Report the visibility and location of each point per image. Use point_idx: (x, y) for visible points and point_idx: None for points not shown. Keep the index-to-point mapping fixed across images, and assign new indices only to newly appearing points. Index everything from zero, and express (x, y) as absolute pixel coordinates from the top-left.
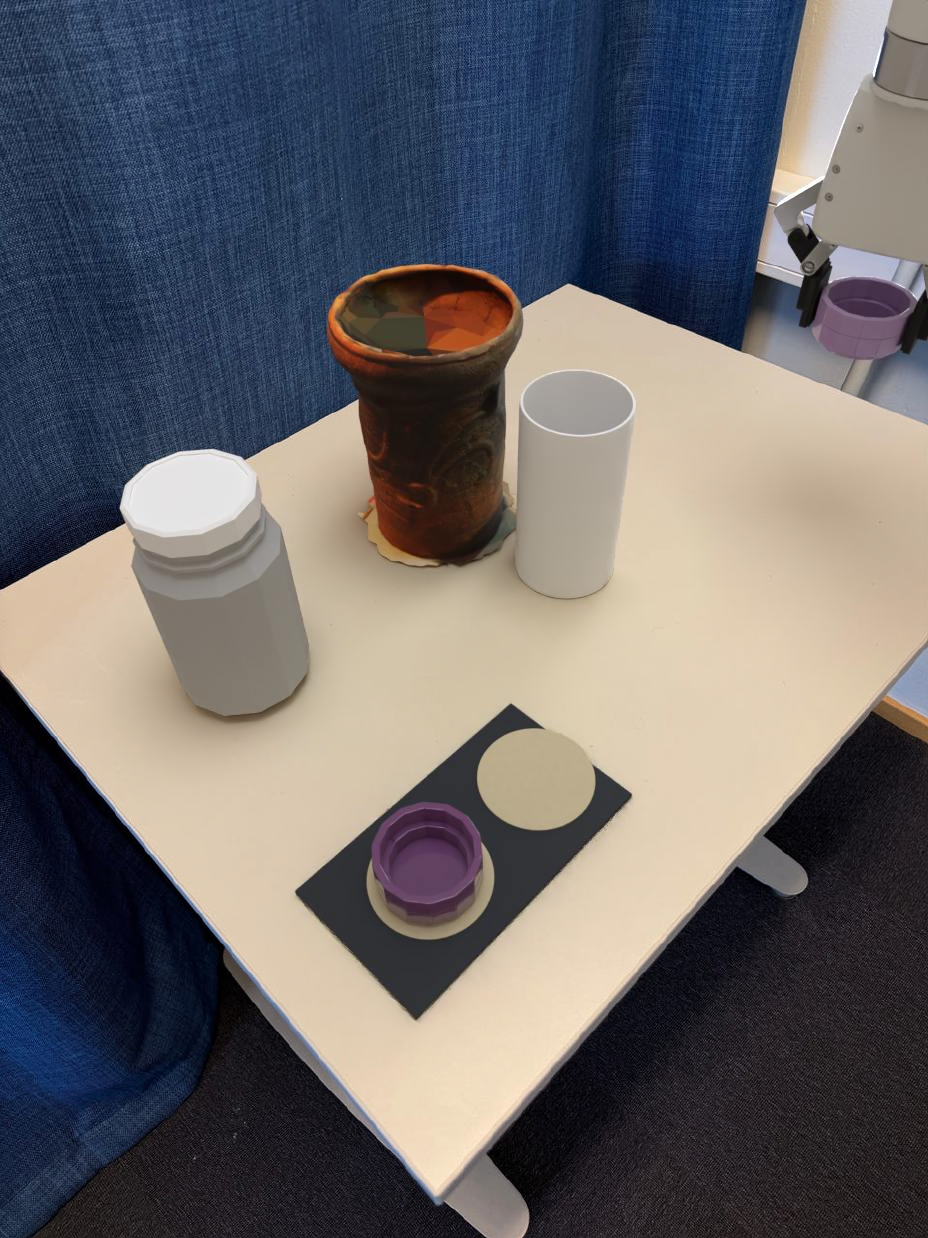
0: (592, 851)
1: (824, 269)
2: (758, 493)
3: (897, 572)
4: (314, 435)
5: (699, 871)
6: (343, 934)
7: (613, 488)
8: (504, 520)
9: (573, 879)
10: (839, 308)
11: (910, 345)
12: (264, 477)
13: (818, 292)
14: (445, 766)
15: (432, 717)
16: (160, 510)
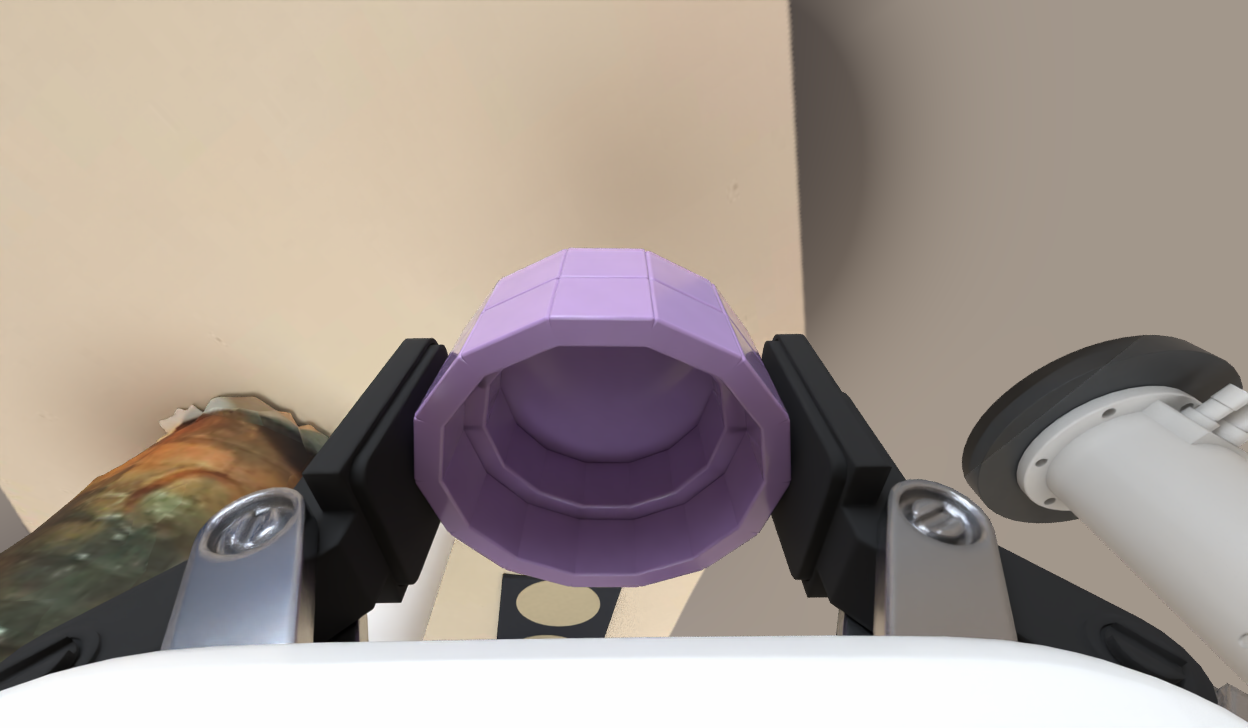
0: (617, 611)
1: (373, 562)
2: (541, 223)
3: (774, 282)
4: None
5: (682, 597)
6: None
7: (433, 604)
8: (316, 447)
9: (616, 624)
10: (542, 566)
11: None
12: (55, 505)
13: (428, 527)
14: (502, 619)
15: (464, 597)
16: None
